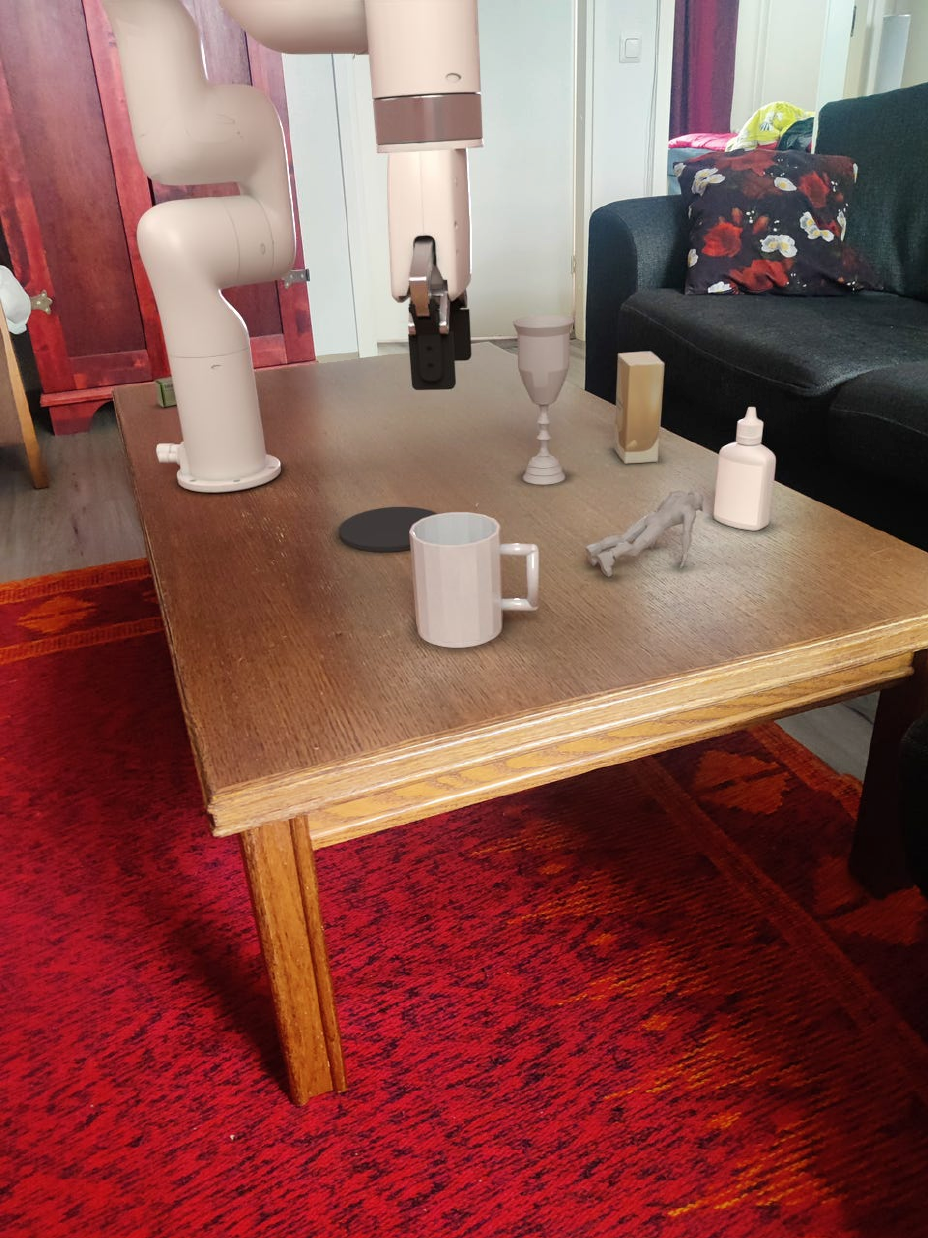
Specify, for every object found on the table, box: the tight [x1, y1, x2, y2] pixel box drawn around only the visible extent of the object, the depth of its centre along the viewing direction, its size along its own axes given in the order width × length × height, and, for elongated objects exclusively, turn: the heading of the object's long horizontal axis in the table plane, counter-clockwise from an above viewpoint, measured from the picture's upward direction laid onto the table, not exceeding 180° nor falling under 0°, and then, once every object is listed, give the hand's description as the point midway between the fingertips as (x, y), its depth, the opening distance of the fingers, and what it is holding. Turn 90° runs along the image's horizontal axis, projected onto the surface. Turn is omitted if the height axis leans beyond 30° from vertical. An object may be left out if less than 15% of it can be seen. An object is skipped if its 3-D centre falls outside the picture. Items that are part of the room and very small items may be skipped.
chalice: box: [512, 314, 575, 485], centre depth 109 cm, size 7×7×18 cm
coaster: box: [338, 506, 438, 553], centre depth 100 cm, size 11×11×1 cm
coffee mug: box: [409, 511, 540, 649], centre depth 78 cm, size 10×7×9 cm
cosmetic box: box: [613, 351, 665, 465], centre depth 116 cm, size 6×4×12 cm
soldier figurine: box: [584, 490, 705, 578], centre depth 89 cm, size 6×5×12 cm
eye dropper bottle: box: [713, 406, 777, 532], centre depth 95 cm, size 4×6×12 cm
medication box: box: [153, 376, 177, 409], centre depth 152 cm, size 12×3×4 cm, turn 126°
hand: (443, 373), depth 74 cm, fingers open, 9 cm apart
